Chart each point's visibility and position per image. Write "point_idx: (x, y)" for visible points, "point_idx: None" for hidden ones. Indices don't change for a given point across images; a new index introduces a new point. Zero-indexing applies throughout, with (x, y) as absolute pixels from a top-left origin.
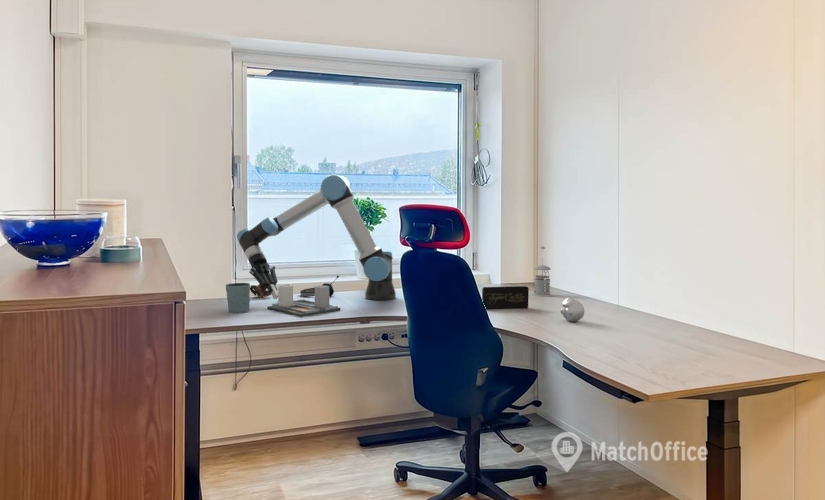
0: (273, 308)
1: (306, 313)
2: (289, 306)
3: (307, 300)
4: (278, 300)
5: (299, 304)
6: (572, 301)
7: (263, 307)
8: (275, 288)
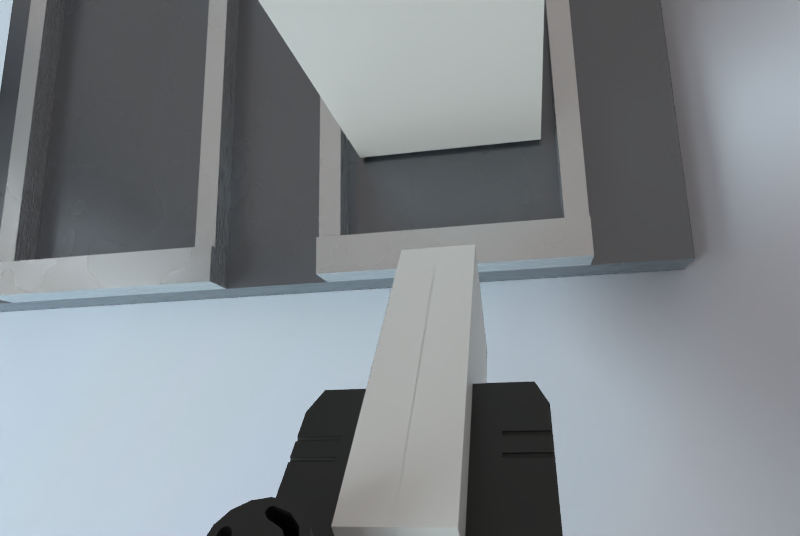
0: (668, 83)
1: None
2: None
3: (11, 190)
4: (541, 90)
5: (232, 76)
6: None
7: (650, 476)
8: (376, 374)
